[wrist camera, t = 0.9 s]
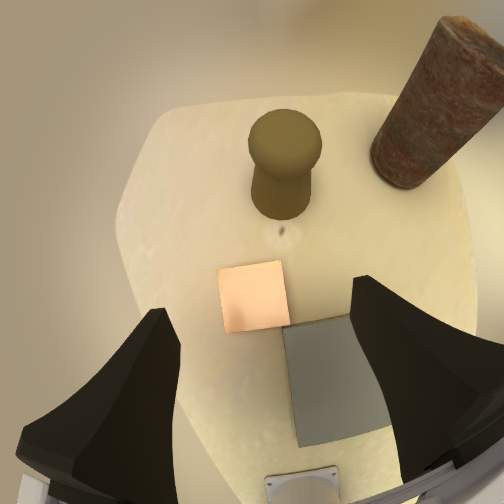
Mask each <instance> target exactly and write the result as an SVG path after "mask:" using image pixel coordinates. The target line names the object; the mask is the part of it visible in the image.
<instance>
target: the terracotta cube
mask: <svg viewBox="0 0 504 504" xmlns="http://www.w3.org/2000/svg"><path fill="white" fill-rule="evenodd" d="M217 277H218V285H219V292H220V299H221V307H222V314H223V321H224V328H225V334H226V333H235V332H243V331H250V330H258V329H265V328H272V327H278V326H285V325H290V319H289V312H288V305H287V299H286V292H285V286H284V279H283V273H282V266H281V260H278V261H272V262H265V263H259V264H252V265H246V266H239V267H232V268H226V269H219V270H217Z"/></svg>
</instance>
